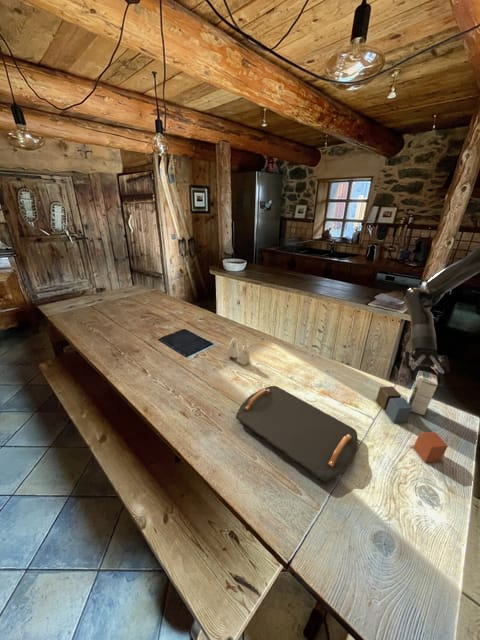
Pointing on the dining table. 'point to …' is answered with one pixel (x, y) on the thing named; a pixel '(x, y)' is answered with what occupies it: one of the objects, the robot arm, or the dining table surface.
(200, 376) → the dining table surface
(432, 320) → the robot arm
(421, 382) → the syrup box
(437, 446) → the terracotta block
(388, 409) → the slate blue block
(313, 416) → the serving tray
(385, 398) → the walnut block
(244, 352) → the shaker set
